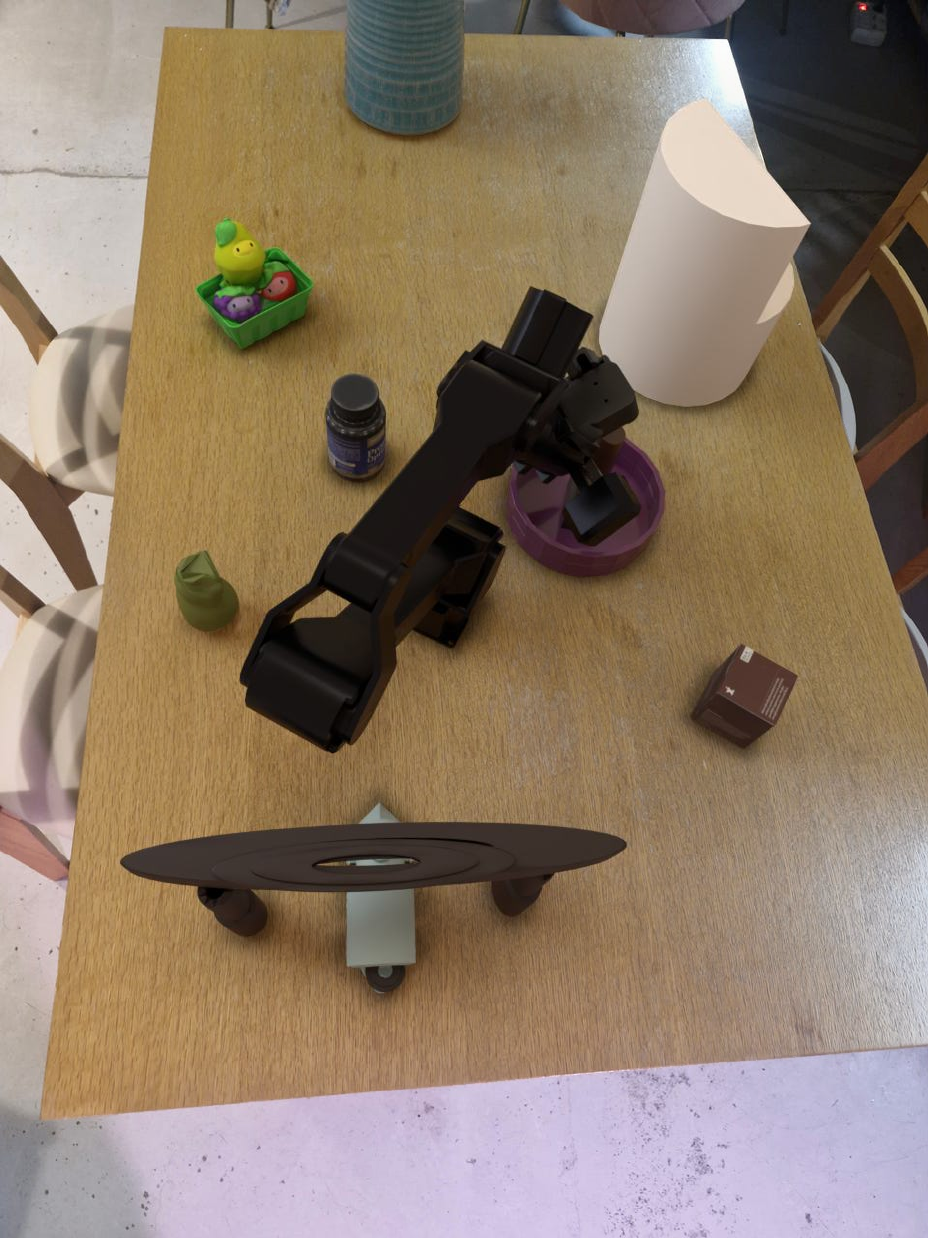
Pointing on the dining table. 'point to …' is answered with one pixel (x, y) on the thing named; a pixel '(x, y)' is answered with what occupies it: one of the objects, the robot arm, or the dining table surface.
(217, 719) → the dining table surface
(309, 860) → the round plant dolly
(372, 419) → the pill bottle
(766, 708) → the box
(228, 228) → the fruit basket
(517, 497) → the bowl
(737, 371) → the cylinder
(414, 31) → the vase
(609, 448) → the hammer
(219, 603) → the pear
